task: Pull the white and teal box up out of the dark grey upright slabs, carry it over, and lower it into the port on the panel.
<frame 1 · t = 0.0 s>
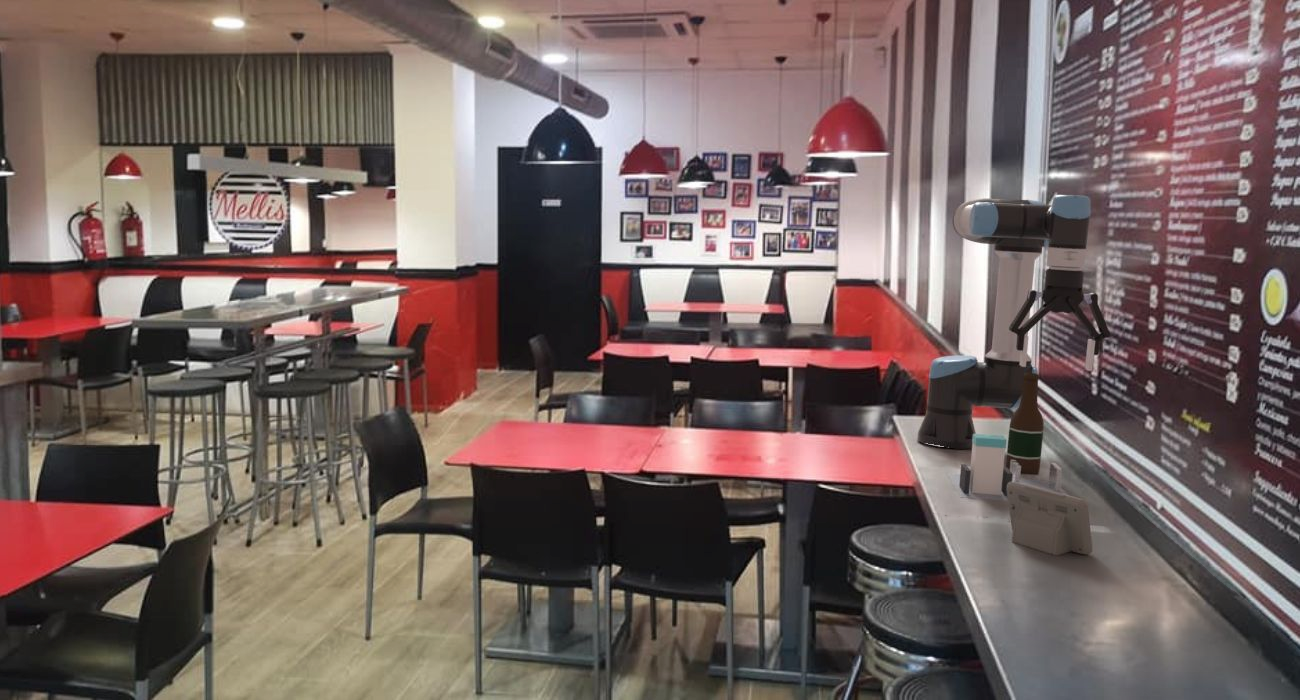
hand: (1055, 368, 223), 28 cm above the table, fingers open, 13 cm apart
panel: (1009, 493, 227), on the table
digital clock: (1045, 546, 190), on the table
port: (1033, 490, 230), resting on panel
beer bottle: (1022, 474, 245), on the table
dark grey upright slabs: (984, 496, 223), resting on panel
white and teal box: (984, 491, 223), point 1 cm above the table, touching panel
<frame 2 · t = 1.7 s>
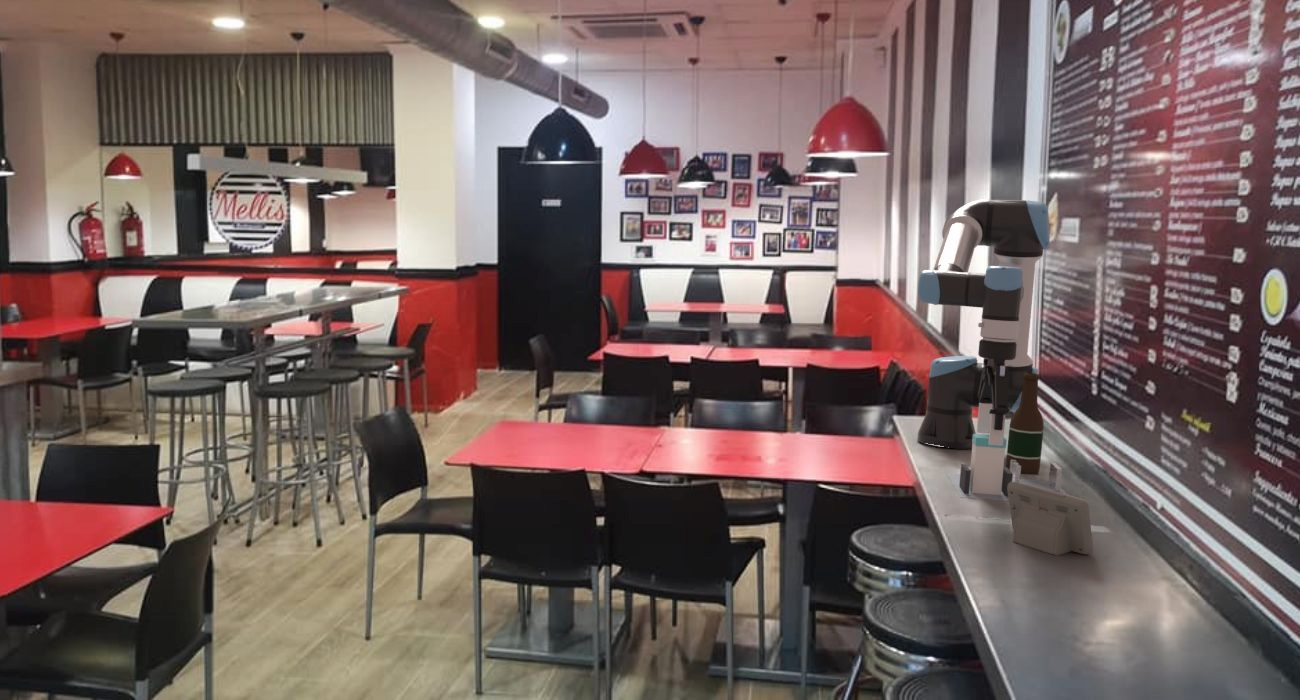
hand: (989, 438, 221), 13 cm above the table, fingers open, 13 cm apart
nothing on the table moved.
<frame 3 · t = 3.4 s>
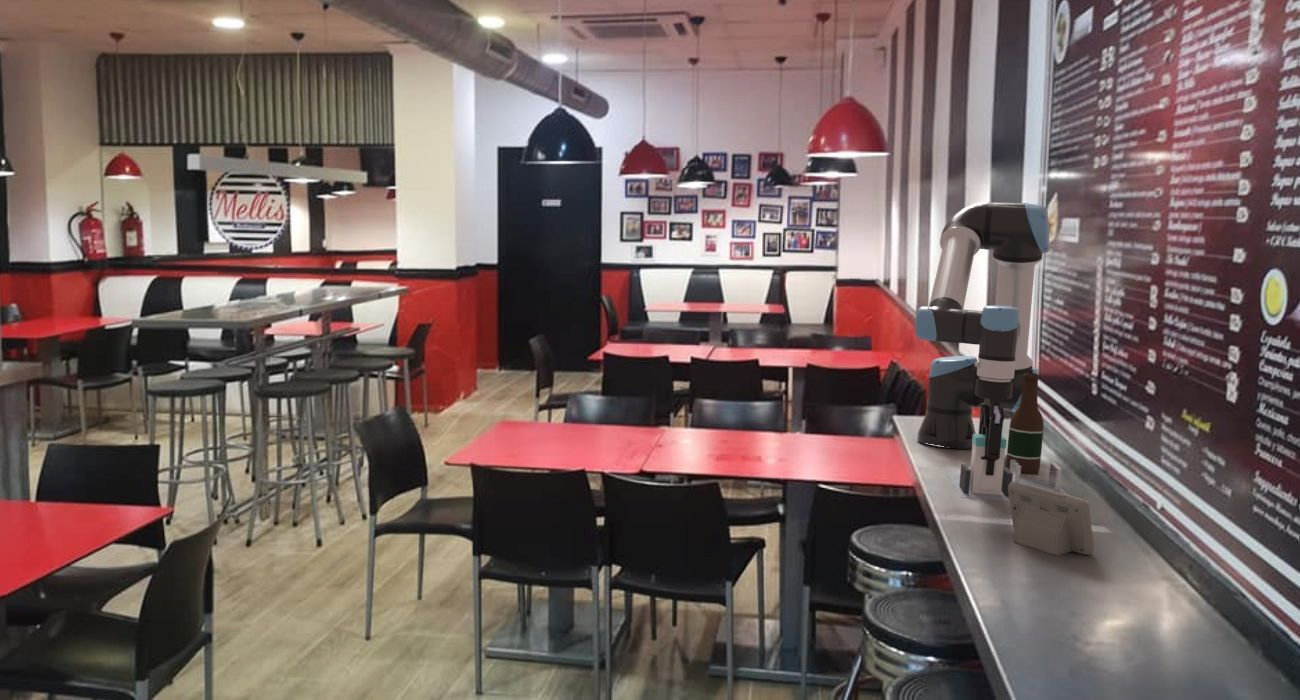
hand: (985, 486, 223), 2 cm above the table, fingers closed on white and teal box, 4 cm apart
white and teal box: (984, 491, 223), point 1 cm above the table, touching gripper, panel
everything else where it was.
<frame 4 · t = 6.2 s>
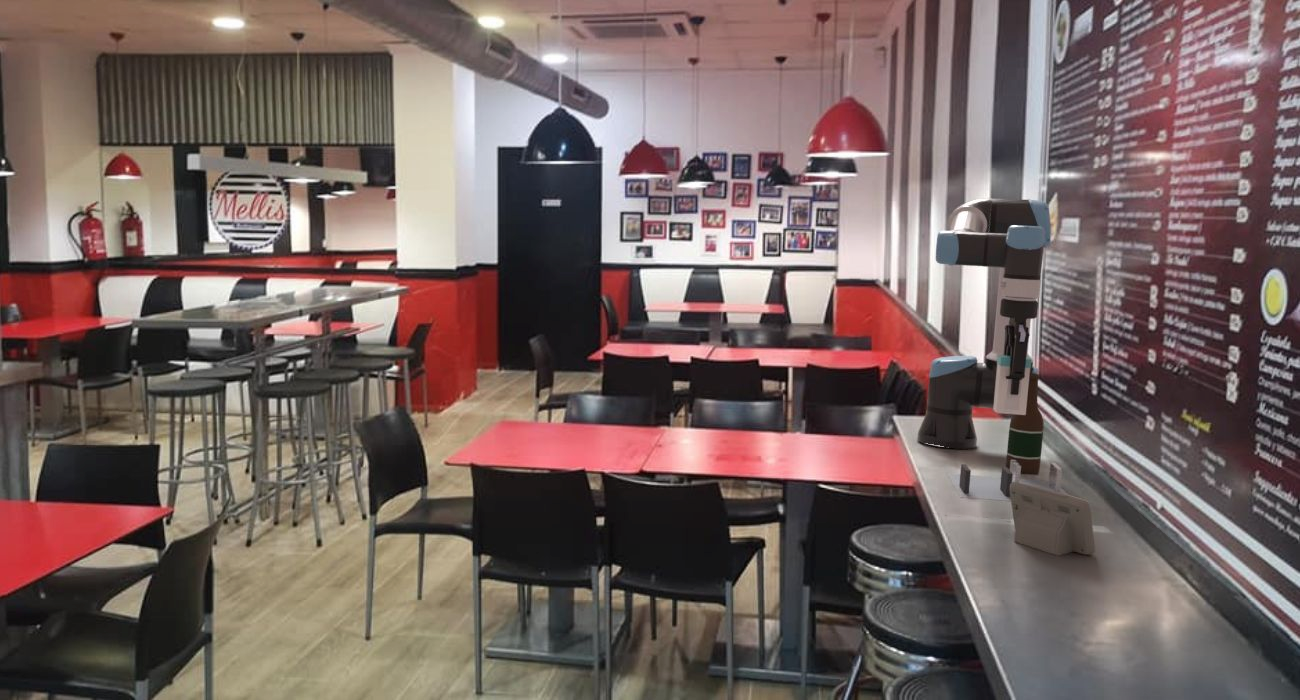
hand: (1009, 407, 223), 19 cm above the table, fingers closed on white and teal box, 4 cm apart
white and teal box: (1009, 412, 224), point 18 cm above the table, touching gripper
everything else where it was.
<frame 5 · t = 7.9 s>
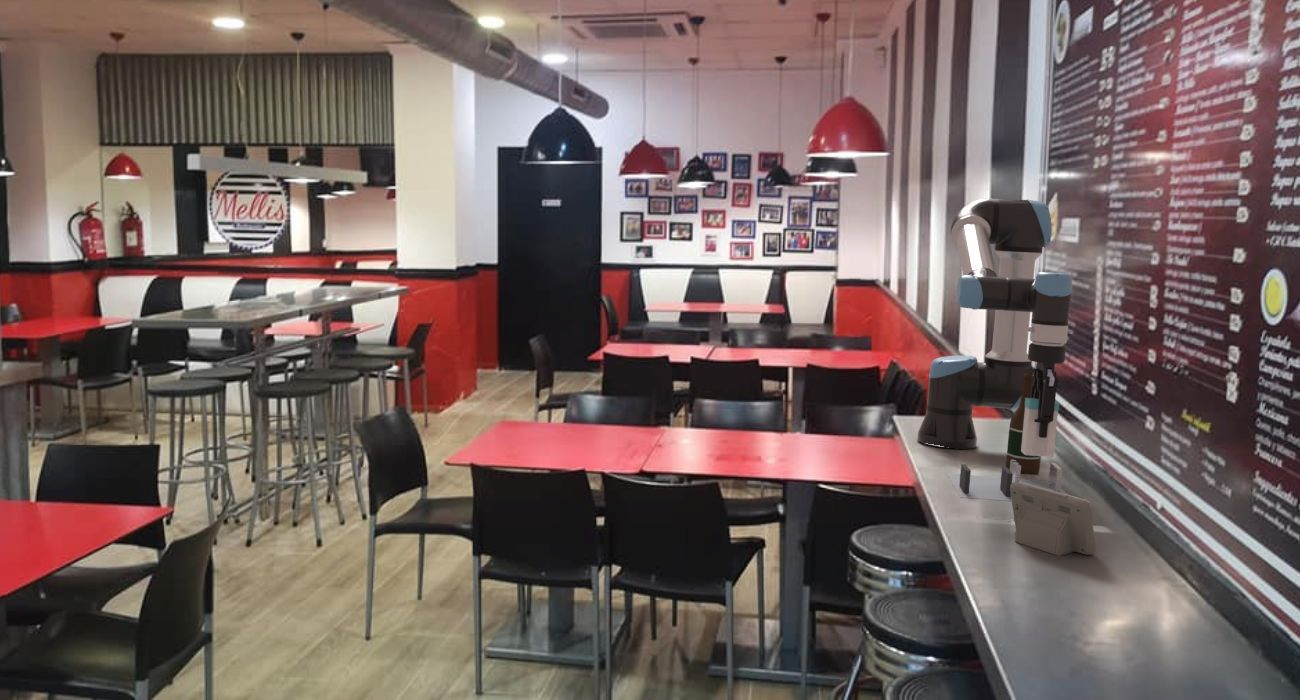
hand: (1037, 449, 229), 9 cm above the table, fingers closed on white and teal box, 4 cm apart
white and teal box: (1037, 454, 229), point 8 cm above the table, touching gripper
everything else where it was.
when the fingers open (3 cm above the table, at t = 9.5 s): white and teal box stays where it is, resting on panel.
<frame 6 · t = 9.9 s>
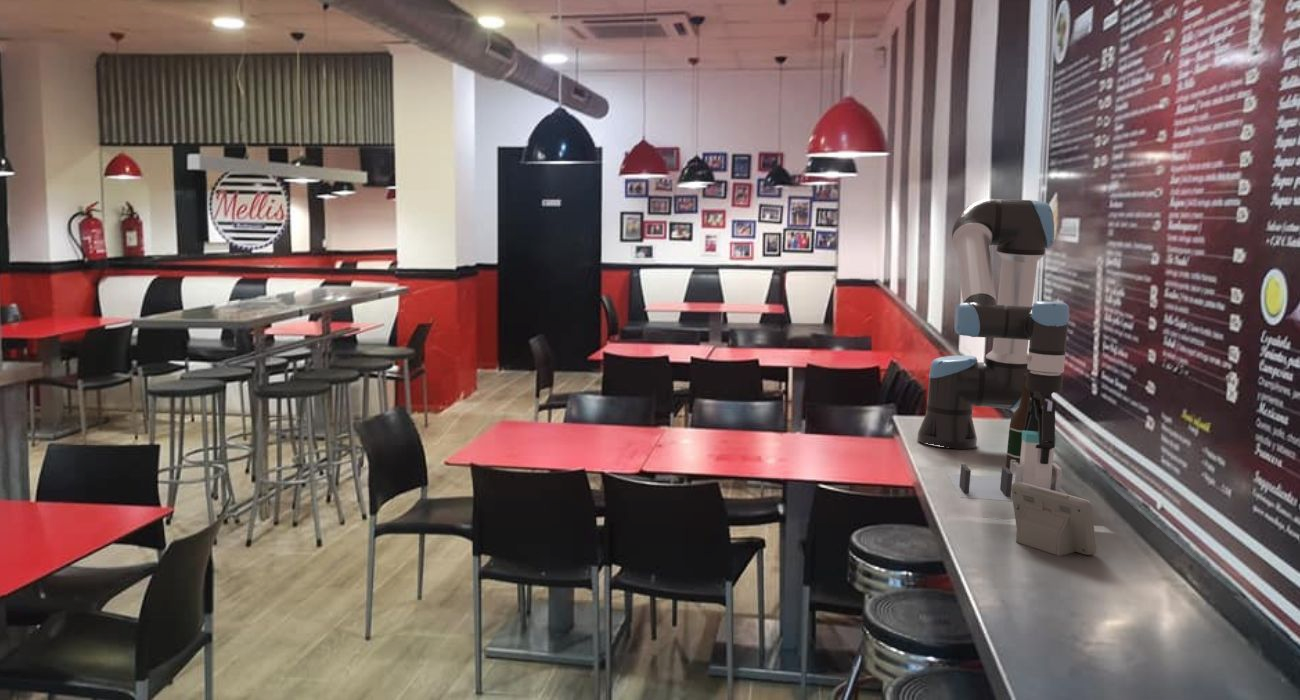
hand: (1035, 471, 229), 4 cm above the table, fingers open, 10 cm apart
white and teal box: (1033, 486, 230), point 1 cm above the table, touching panel
everything else where it was.
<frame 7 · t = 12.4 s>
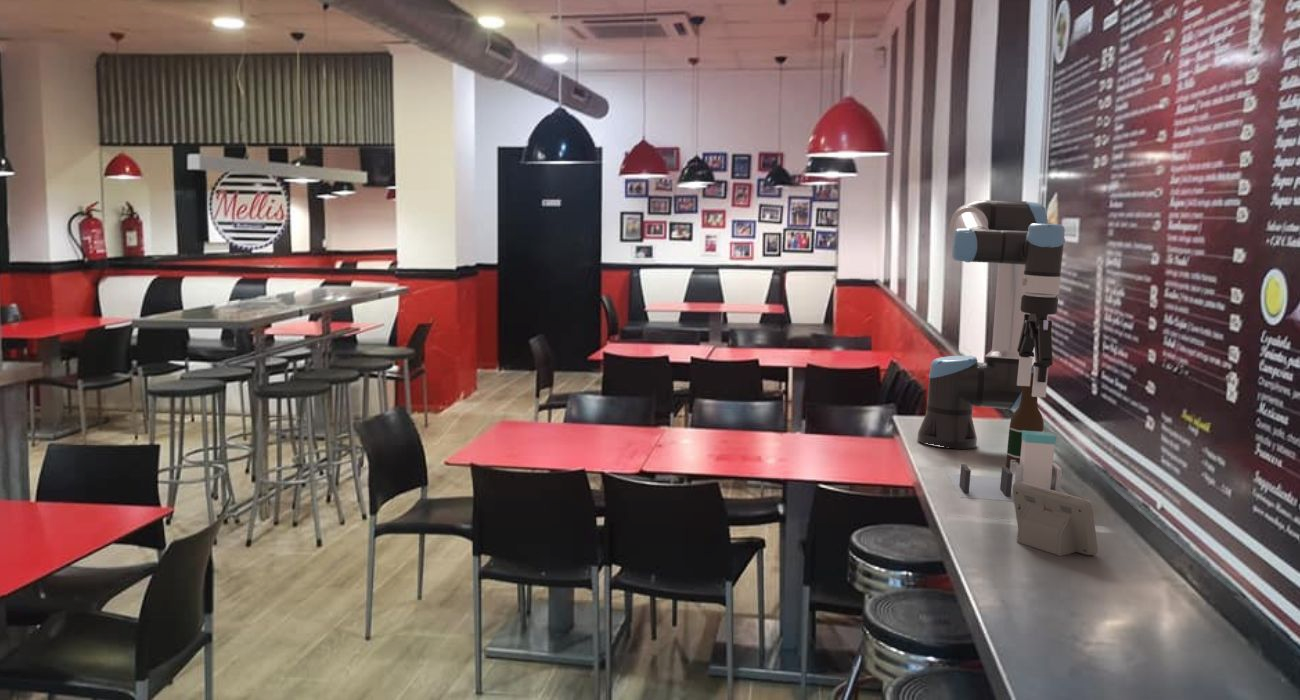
hand: (1030, 391, 229), 22 cm above the table, fingers open, 13 cm apart
nothing on the table moved.
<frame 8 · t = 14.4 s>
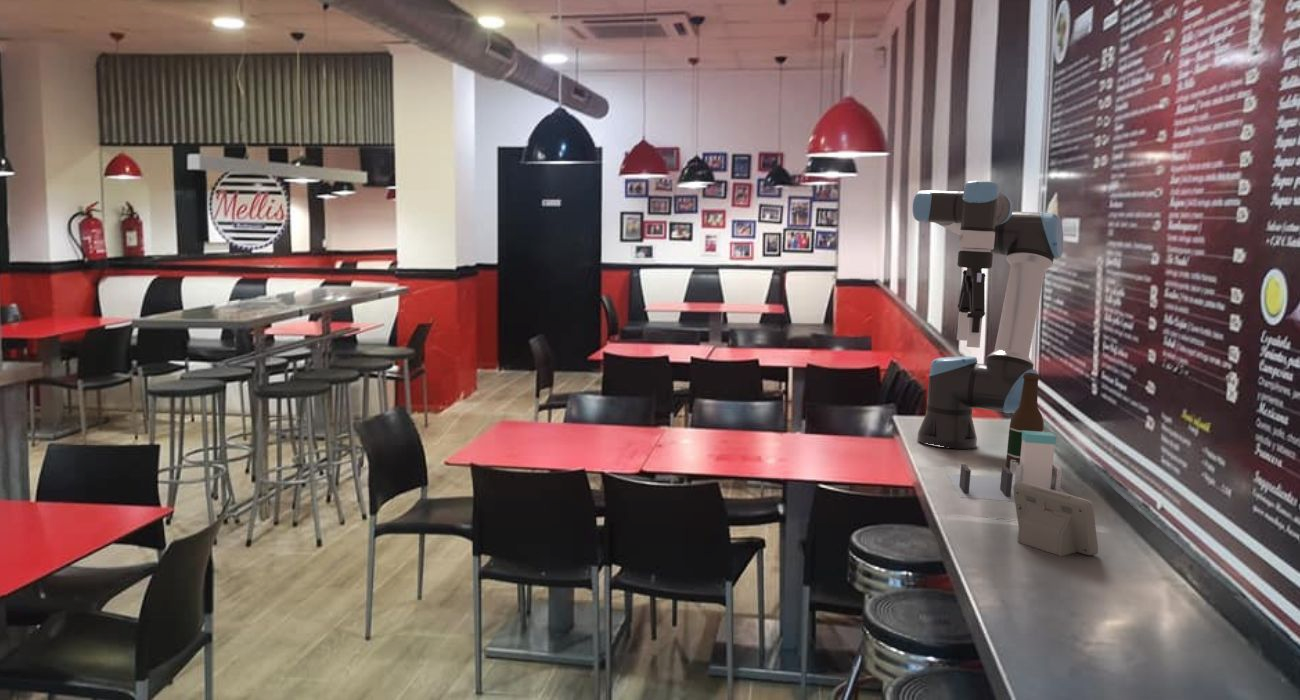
hand: (967, 343, 238), 31 cm above the table, fingers open, 13 cm apart
at the end: white and teal box 0.0 cm off-centre on the port, point 1.0 cm above the port's base; white and teal box tilted 0°; the gripper is holding nothing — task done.
